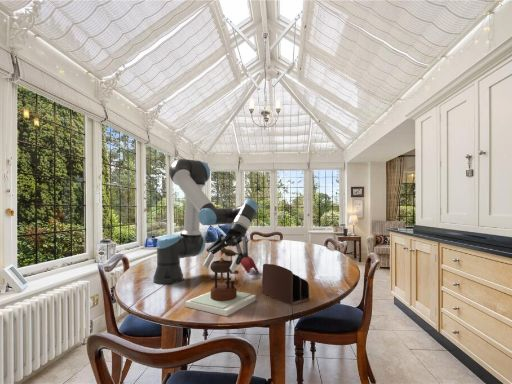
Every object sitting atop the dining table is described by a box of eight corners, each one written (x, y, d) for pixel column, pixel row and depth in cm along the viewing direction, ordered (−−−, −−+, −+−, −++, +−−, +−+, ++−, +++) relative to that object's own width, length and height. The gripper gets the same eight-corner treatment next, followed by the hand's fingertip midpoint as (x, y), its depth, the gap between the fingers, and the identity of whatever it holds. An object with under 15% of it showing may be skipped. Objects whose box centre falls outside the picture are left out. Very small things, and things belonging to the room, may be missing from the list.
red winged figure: (248, 274, 185) (232, 257, 184) (259, 264, 186) (242, 247, 185) (252, 287, 157) (233, 267, 156) (265, 275, 158) (246, 254, 157)
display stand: (185, 306, 116) (185, 300, 116) (217, 293, 133) (217, 287, 133) (226, 316, 105) (226, 309, 105) (255, 300, 122) (255, 294, 122)
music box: (238, 291, 126) (238, 245, 126) (242, 301, 116) (243, 251, 115) (202, 293, 123) (202, 246, 123) (202, 304, 113) (203, 252, 112)
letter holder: (291, 306, 116) (291, 269, 116) (261, 293, 132) (261, 261, 133) (309, 301, 122) (309, 266, 122) (278, 289, 138) (278, 259, 138)
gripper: (266, 234, 127) (247, 277, 113) (220, 232, 140) (198, 270, 126) (260, 223, 122) (240, 266, 109) (213, 221, 135) (190, 260, 122)
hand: (217, 268), depth 118 cm, fingers open, 13 cm apart
